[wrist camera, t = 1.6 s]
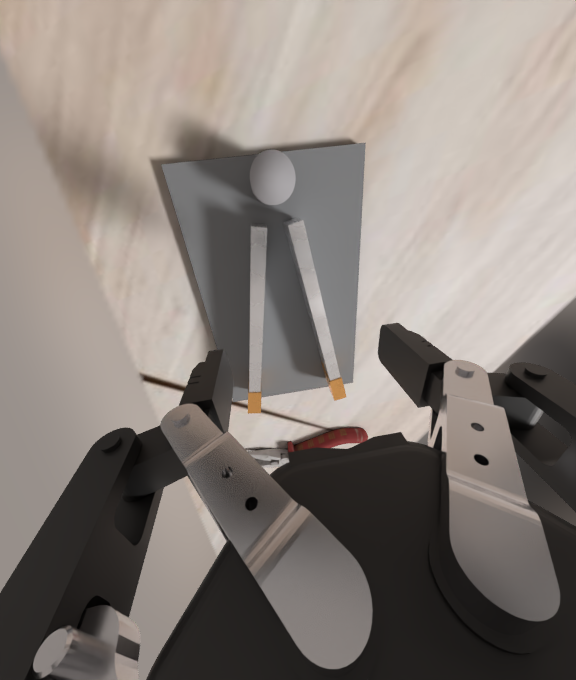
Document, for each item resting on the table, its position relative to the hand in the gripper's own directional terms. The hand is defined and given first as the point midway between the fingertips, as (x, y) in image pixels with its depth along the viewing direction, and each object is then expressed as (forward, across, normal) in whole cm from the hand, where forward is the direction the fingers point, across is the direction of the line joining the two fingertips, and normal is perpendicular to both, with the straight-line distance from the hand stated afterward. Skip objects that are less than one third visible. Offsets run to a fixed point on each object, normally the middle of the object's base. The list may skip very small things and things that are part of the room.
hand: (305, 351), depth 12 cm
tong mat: (+14, 0, +2) cm, 14 cm away
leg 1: (+13, +3, +4) cm, 14 cm away
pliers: (+15, -2, +28) cm, 32 cm away
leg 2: (+13, -3, +4) cm, 14 cm away
